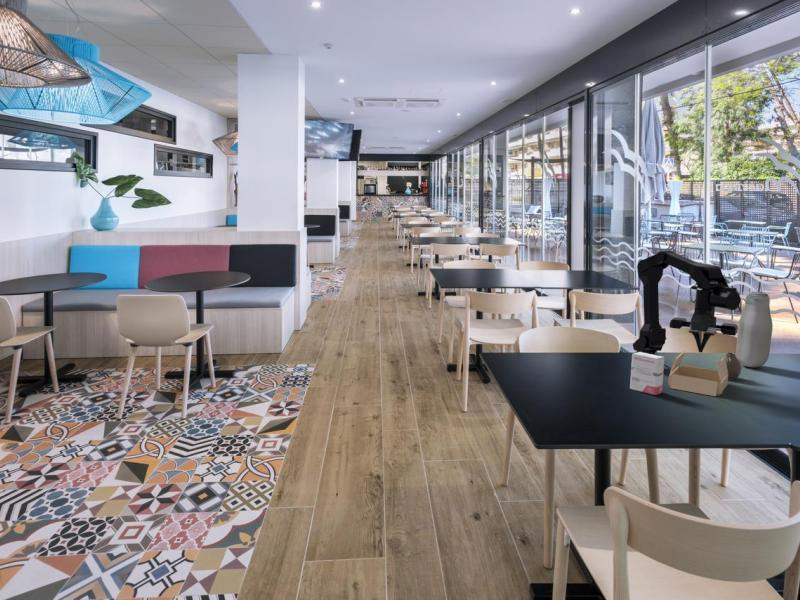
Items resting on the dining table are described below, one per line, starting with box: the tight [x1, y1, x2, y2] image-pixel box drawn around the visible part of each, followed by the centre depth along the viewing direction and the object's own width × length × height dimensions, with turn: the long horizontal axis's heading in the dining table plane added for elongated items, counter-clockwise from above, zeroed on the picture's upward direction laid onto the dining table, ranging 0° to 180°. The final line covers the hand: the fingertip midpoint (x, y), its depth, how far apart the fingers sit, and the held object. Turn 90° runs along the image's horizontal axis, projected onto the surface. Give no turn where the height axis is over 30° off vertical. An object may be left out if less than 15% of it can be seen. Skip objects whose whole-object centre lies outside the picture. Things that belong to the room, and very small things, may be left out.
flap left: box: [670, 350, 686, 373], centre depth 182 cm, size 1×12×5 cm, turn 143°
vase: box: [718, 352, 742, 381], centre depth 187 cm, size 7×7×9 cm
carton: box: [667, 364, 729, 397], centre depth 179 cm, size 15×17×4 cm
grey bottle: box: [735, 291, 773, 369], centre depth 200 cm, size 10×10×28 cm
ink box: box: [629, 352, 665, 396], centre depth 174 cm, size 9×5×12 cm, turn 39°
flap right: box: [716, 356, 728, 381], centre depth 174 cm, size 1×12×5 cm, turn 141°
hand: (700, 352), depth 178 cm, fingers closed
